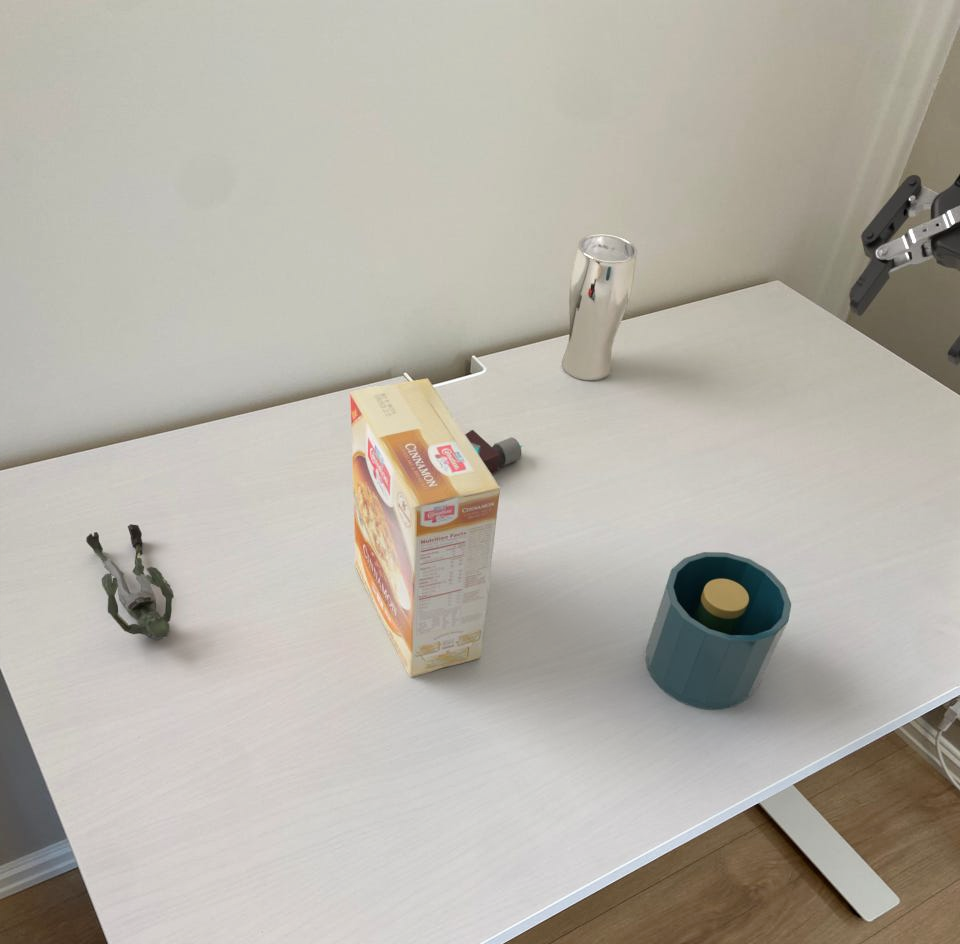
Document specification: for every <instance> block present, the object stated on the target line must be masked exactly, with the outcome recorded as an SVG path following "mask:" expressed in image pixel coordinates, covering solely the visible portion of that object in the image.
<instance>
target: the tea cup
mask: <svg viewBox="0 0 960 944" xmlns="http://www.w3.org/2000/svg"><path fill="white" fill-rule="evenodd" d="M714 579H728V580H732V581H734V582H736V583H738V584H740V585H741V586H742V587H743V588H744V589H745V590H746V591H747V593H748V596H749V603H748V605H747V608H746V610H745V612H744V613H743V614H742V617H741V619H740V621H739V624H738V626H737V629H736V631H735V634H734V635H728V634H725V633H722V632H718V631H715V630H711V629H709V628H707V627H705V626H704V625H702V624H701V623H699V622H697V621H696V620H694V618H695V615H696V613H697V610H698V607H699V604H700V602H701V595H702V592H703V590H704V587H705V585H706V584H707V583H708V582H710V581H711V580H714ZM790 599H791V598H790V596H789V594H788V591H787V588H786V587H785V585H784V584H783V583H782V582H781V581H780V580H779V579H778V577H776V575H774V574H773V572H772V571H770V569H767V568H766V567H764V566H763V565H761V564H759V563H758V562H756V561H754V560H752V559H751V558H747V557H744V556H741V555H737V554H733V553H730V552H725V551H724V552H721V551H719V552H718V551H717V552H715V551H704V552H703V551H702V552H700V553H697V554H693V555H690V556H687V557H685V558H682V560H680V561H679V562H678V563H677V564H676V565H675V566H673V567H672V568H671V570H670V572H669V576H668V579H667V582H666V585H665V587H664V590H663V594H662V598H661V601H660V604H659V607H658V610H657V614H656V617H655V620H654V623H653V626H652V630H651V632H650V635H649V639H648V642H647V645H646V649H645V664H646V667H647V671H648V673H649V675H650V676H651V678H652V679H653V681H654V682H655V683H656V684H657V686H658V687H659V688H660V689H662V690H663V692H665V693H666V694H668V695H669V696H670V697H671V698H673V699H675V700H677V701H678V702H681V703H683V704H686V705H688V706H692V707H694V708H698V709H703V710H725V709H729V708H732V707H736V706H738V705H740V704H742V703H744V702H745V701H746V700H748V699H749V698H750V697H751V696H752V695H753V693H754V692H755V690H756V688H757V687H758V686H759V684H760V682H761V680H762V679H763V676H764V675H765V672H766V670H767V668H768V666H769V663H770V661H771V659H772V657H773V655H774V653H775V651H776V649H777V646H778V644H779V642H780V641H781V638H782V635H783V634H784V631H785V629H786V627H787V625H788V623H789V620H790V615H791V609H792V601H791V600H790Z"/></svg>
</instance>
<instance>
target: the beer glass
mask: <svg viewBox="0 0 960 944" xmlns="http://www.w3.org/2000/svg"><path fill="white" fill-rule="evenodd" d="M577 245H578V246H577V251H576V254H575V257H574V262H573V267H572V272H571V277H570V283H569V284H570V285H569V296H568V306H569V307H568V308H569V311H568V313H569V314H568V315H569V335H568V342H567V345H566V349H565V351H564V354H563V357H562V359H561V367H562V369H563V370H564V372H566V373H567V375H569V376H571V377H573V378H576V379H578V380H582V381H599V380H603V379H605V378H606V377H608V376H609V375H610V373H611V371H612V363H613V362H612V361H613V360H612V359H613V358H612V357H613V356H612V355H613V354H612V353H613V346H614V341H615V338H616V336H617V332H618V330H619V328H620V325H621V322H622V320H623V318H624V315H625V312H626V310H627V307H628V304H629V302H630V297H631V294H632V289H633V284H634V278H635V271H636V264H637V262H636V261H637V256H638V249H637V247H636V246H635V244H634V243H632V242H631V241H630V240H628V239H626V238H624V237H621V236H618V235H614V234H609V233H595V234H594V233H593V234H589V235H586V236H584V237H582V238H581V239H580V240H579V241H578V244H577Z"/></svg>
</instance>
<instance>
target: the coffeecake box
mask: <svg viewBox="0 0 960 944" xmlns="http://www.w3.org/2000/svg"><path fill="white" fill-rule="evenodd" d="M349 398H350V420H351V421H350V422H351V448H352V449H351V452H352V453H351V454H352V455H351V456H352V485H353V487H352V488H353V517H354V518H353V519H354V521H353V522H354V553H355V555H354V556H355V561H354V566H355V569H356V570H357V573H358V575H359V577H360V579H361V581H362V583H363V586H364V587H365V589H366V592H367V594H368V596H369V597H370V600H371V602H372V604H373V605H374V608H375V610H376V612H377V614H378V616H379V618H380V620H381V622H382V624H383V626H384V628H385V630H386V632H387V633H388V634H387V635H388V636H389V638H390V640H391V642H392V644H393V646H394V648H395V650H396V652H397V654H398V656H399V659H400V660H401V662H402V664H403V666H404V668H405V669H406V672H407V674H408V676H409V677H410V678H413V677H417V676H421V675H425V674H429V673H431V672H435V671H437V670H440V669H442V668H446V667H451V666H455V665H460V664H464V663H468V662H471V661H474V660H475V661H476V660H479V659H480V658H481V657H482V649H483V639H484V631H485V622H486V611H487V605H488V604H487V603H488V596H489V587H490V580H491V579H490V578H491V571H492V570H491V569H492V561H493V551H494V544H495V535H496V527H497V518H498V517H497V516H498V509H499V501H500V495H501V494H500V493H501V486H500V485H499V484H498V482H497V481H496V479H495V477H494V476H493V473H490V471H489V470H488V468H487V467H486V465H485V464H484V462H483V461H482V459H481V458H480V456H479V455H478V453H477V452H476V450H475V449H474V447H473V446H472V444H471V443H470V441H469V440H468V438H467V437H466V435H465V434H466V433H465V432H464V431H463V429H462V428H461V426H460V425H459V423H458V421H457V420H456V418H455V417H454V415H453V414H452V413H451V411H450V409H449V407H448V406H447V405H446V404H445V402H444V401H443V399H442V397H441V395H440V394H439V393H438V391H437V390H436V388H435V387H434V385H433V384H432V382H431V381H430V379H429V378H427V377H426V378H421V379H416V380H415V379H414V380H409V381H404V382H399V383H394V384H387V385H381V386H380V385H374V386H368V387H362V388H358V389H355V390H351V391H349Z"/></svg>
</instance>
